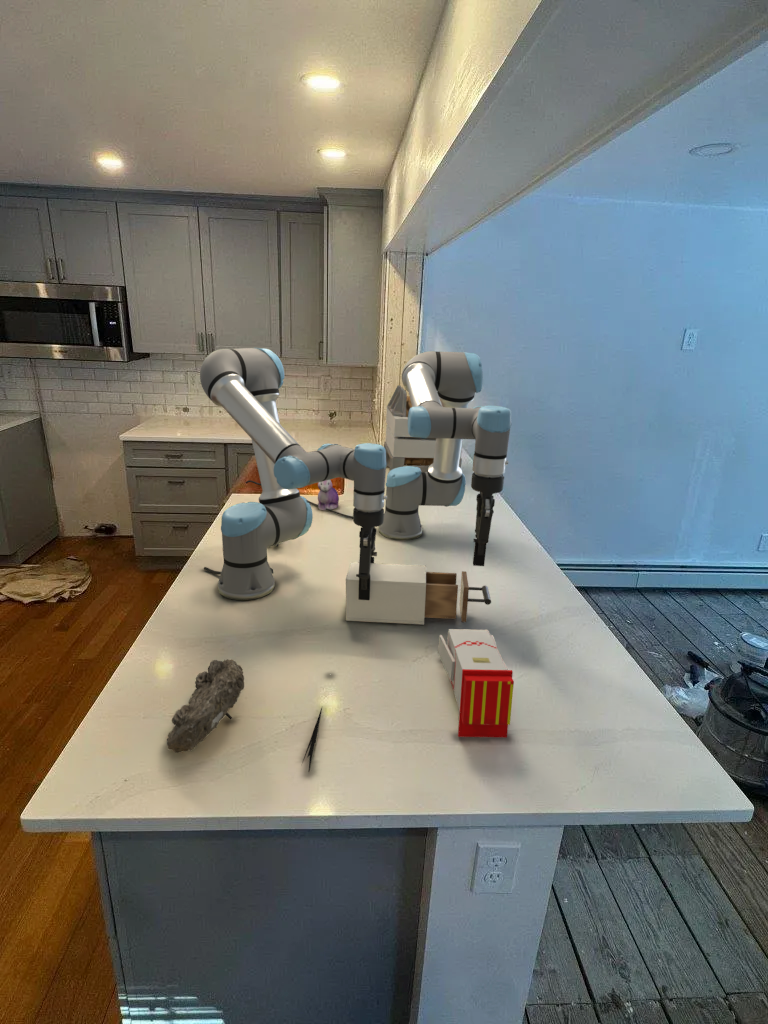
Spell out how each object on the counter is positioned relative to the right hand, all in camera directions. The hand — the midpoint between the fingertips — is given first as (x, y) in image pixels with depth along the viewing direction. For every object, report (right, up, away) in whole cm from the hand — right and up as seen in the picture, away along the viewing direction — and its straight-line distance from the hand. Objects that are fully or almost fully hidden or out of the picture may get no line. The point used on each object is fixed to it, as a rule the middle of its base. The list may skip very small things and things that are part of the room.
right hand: (478, 564), depth 141 cm
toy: (-6, -25, -22) cm, 34 cm away
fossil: (-56, -26, -33) cm, 70 cm away
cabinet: (-23, -13, +6) cm, 27 cm away
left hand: (-28, -7, +5) cm, 29 cm away
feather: (-36, -27, -32) cm, 55 cm away
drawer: (-9, -13, +5) cm, 16 cm away
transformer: (-6, +32, +134) cm, 138 cm away
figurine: (-46, +15, +82) cm, 95 cm away
